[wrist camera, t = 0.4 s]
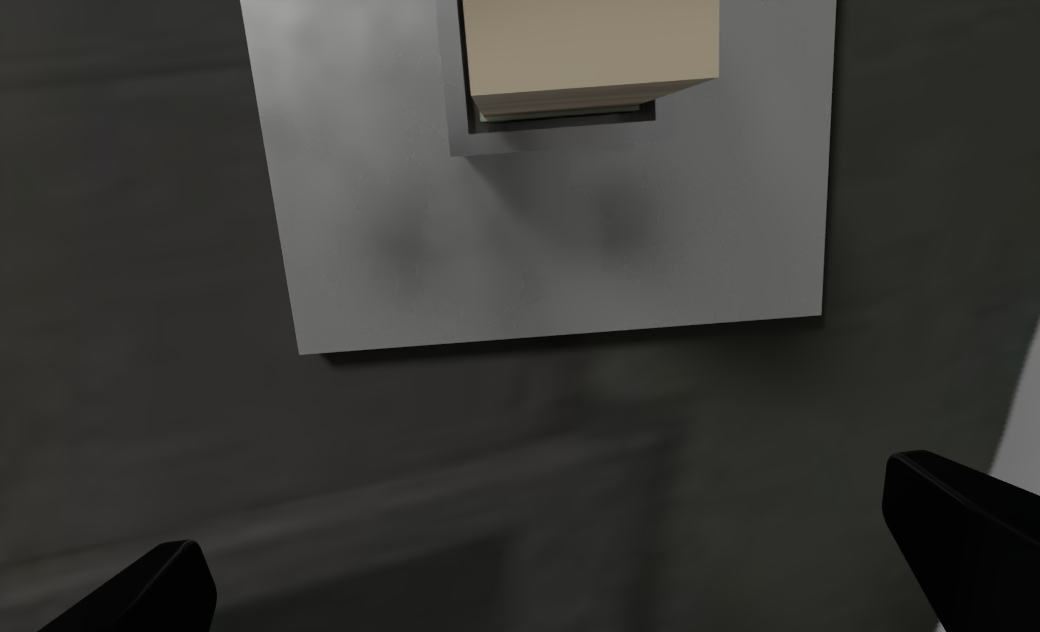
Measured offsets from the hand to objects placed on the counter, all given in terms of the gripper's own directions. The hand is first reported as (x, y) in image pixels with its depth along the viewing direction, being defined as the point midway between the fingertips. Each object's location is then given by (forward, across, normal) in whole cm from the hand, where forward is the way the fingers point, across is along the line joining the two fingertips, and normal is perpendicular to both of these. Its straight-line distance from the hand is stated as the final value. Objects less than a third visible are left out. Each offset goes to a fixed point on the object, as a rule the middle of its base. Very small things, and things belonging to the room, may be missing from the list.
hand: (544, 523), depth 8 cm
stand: (+16, -2, -5) cm, 17 cm away
